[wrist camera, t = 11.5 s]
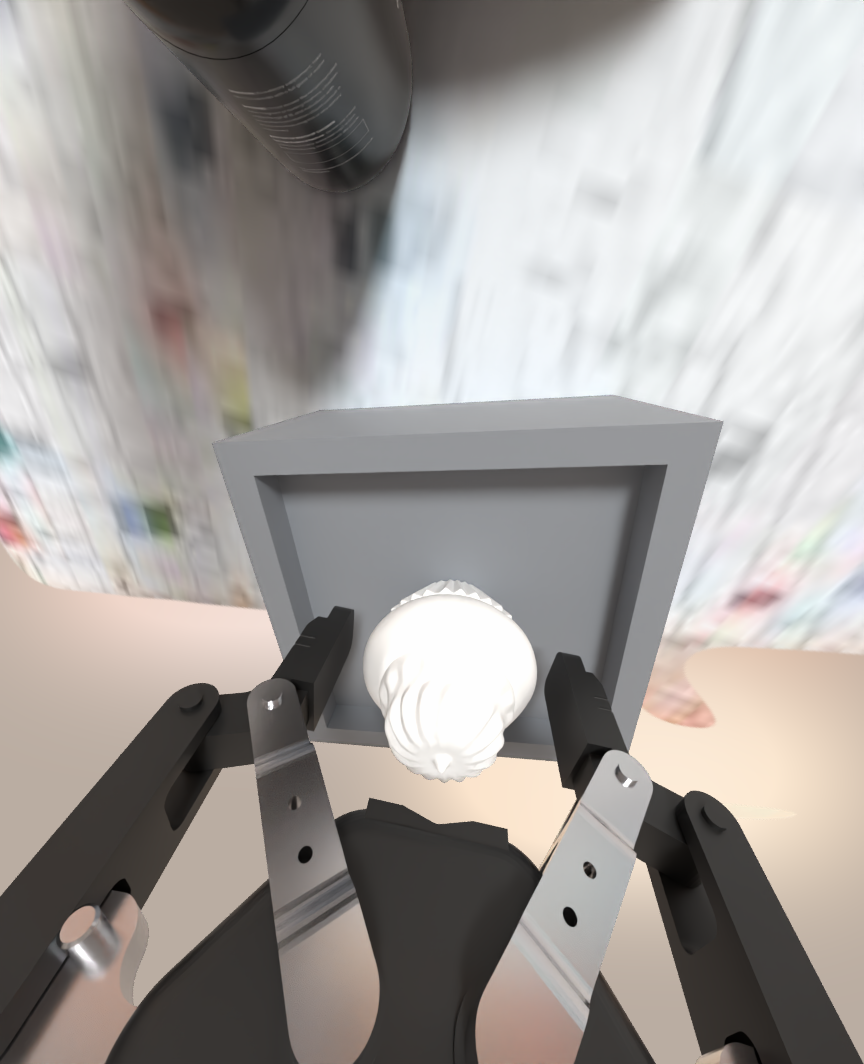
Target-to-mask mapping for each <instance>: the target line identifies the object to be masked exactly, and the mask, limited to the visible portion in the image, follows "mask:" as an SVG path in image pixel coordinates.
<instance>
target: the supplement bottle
mask: <svg viewBox="0 0 864 1064" xmlns="http://www.w3.org/2000/svg"><path fill="white" fill-rule="evenodd" d="M123 1H124V2H125V3H126V5H127V6H128V7H129V8H130V9H131V10H132V11H133V13H134V14H135V15H136V16H137V17H138V18H139V19H140V20H141V21H142V22H143V23H144V24H145V25H146V26H147V27H148V28H149V29H150V31H151V32H152V33H153V34H154V35H155V36H156V37H157V38H158V39H159V40H160V41H161V42H162V43H163V44H164V45H165V46H166V47H167V48H168V49H169V50H170V51H171V52H172V53H173V54H174V55H175V56H176V57H177V58H178V59H179V60H180V61H181V62H182V63H183V64H184V65H185V66H186V67H187V68H188V69H189V70H190V71H191V72H192V73H193V74H194V75H195V77H196V78H197V79H198V80H199V81H200V82H201V83H202V84H203V85H204V86H205V87H206V88H207V89H208V90H209V91H210V92H211V93H212V94H213V95H214V96H215V97H216V98H217V99H218V100H219V101H220V102H221V103H222V104H223V105H224V106H225V107H226V108H227V109H228V110H229V111H230V112H231V113H232V114H233V115H234V116H235V117H236V118H237V119H238V120H239V121H240V122H241V123H242V124H243V126H244V127H245V128H246V129H247V130H248V131H249V132H250V133H251V134H252V135H253V136H254V137H255V138H256V139H257V140H258V141H259V142H260V143H261V144H262V145H263V146H264V147H265V148H266V149H267V150H268V151H269V152H270V153H271V154H272V155H273V156H274V157H275V158H276V159H277V160H278V161H279V162H280V163H281V164H282V165H283V166H284V167H285V168H286V169H287V170H288V171H290V172H291V173H292V174H293V175H294V176H296V177H297V178H298V179H300V180H301V181H302V182H304V183H306V184H307V185H309V186H311V187H314V188H316V189H319V190H322V191H328V192H346V191H351V190H354V189H357V188H359V187H361V186H363V185H365V184H367V183H368V182H369V181H371V180H372V179H373V178H375V177H376V176H377V175H378V174H379V173H380V172H381V171H382V170H383V169H384V167H385V166H386V165H387V163H388V162H389V161H390V159H391V158H392V156H393V154H394V153H395V151H396V149H397V147H398V145H399V142H400V140H401V138H402V135H403V132H404V129H405V126H406V122H407V118H408V114H409V108H410V103H411V94H412V58H411V48H410V42H409V36H408V30H407V25H406V21H405V15H404V10H403V6H402V1H401V0H123Z"/></svg>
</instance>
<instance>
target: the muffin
mask: <svg viewBox="0 0 864 1064" xmlns="http://www.w3.org/2000/svg"><path fill="white" fill-rule="evenodd" d="M363 674H364V680H365V684H366V687H367V690H368V692H369V694H370V696H371V697H372V699H373V701H374V702H375V703H376V704H377V706H378V707H379V708H380V709H381V711H382V714H383V716H384V718H385V733H386V737H387V739H388V742H389V746H390V749H391V751H392V753H393V754H394V756H395V757H396V758H397V760H398V761H399V762H401V763H402V764H404V765H405V766H406V767H407V769H408V770H410V771H411V772H412V773H414V774H421V775H422V776H423V777H425V778H426V779H428V780H432V779H439V780H440V781H441V782H443V783H445V782H447V781H449V780H450V779H453V780H455V781H457V782H462V781H463V780H464V779H465V777H476V776H478V775H480V773H481V772H482V770H483V769H486V768H488V767H490V766H491V765H492V764H493V763H494V761H495V760H496V757H497V753H498V752H499V750H500V749H501V748H502V747H503V745H504V737H503V732H504V729H505V728H507V727H508V726H509V725H510V724H511V723H512V722H513V721H514V720H515V719H516V718H517V717H518V716H519V715H520V713H521V712H522V711H523V710H524V708H525V707H526V706H527V704H528V703H529V701H530V699H531V697H532V695H533V693H534V690H535V686H536V681H537V665H536V659H535V655H534V652H533V649H532V646H531V644H530V642H529V640H528V638H527V636H526V635H525V633H524V632H523V631H522V629H521V628H520V627H519V626H518V625H517V624H516V623H515V622H514V621H513V620H512V616H511V615H510V614H509V613H508V612H506V611H505V610H504V609H503V608H502V606H501V605H500V604H498V603H497V602H496V601H494V600H493V599H492V598H490V597H489V596H488V595H486V594H485V593H484V592H482V591H481V590H479V589H478V588H476V587H475V586H473V585H472V584H469V585H468V584H467V583H466V582H465V581H464V582H460V581H459V580H456V581H453V580H451V579H450V580H448V581H442V580H441V581H439V582H437V583H436V582H434V583H432V584H430V585H428V586H426V587H425V588H423V589H421V590H419V591H417V592H415V593H413V594H412V595H410V596H408V597H406V598H404V599H402V600H401V602H400V604H398V605H396V606H394V607H393V608H392V609H391V612H390V613H389V614H388V615H387V616H385V617H384V618H383V619H382V620H381V622H380V623H379V624H378V625H377V626H376V628H375V629H374V630H373V632H372V633H371V635H370V637H369V639H368V641H367V644H366V647H365V650H364V656H363Z"/></svg>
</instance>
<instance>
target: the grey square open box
mask: <svg viewBox="0 0 864 1064" xmlns="http://www.w3.org/2000/svg"><path fill="white" fill-rule="evenodd" d="M722 425H723V421H719V420H715V419H711V418H707V417H703V416H699V415H694V414H690V413H686V412H682V411H678V410H674V409H669V408H665V407H661V406H657V405H653V404H649V403H645V402H640V401H636V400H632V399H628V398H624V397H620V396H616V395H602V396H583V397H565V398H546V399H527V400H508V401H489V402H470V403H451V404H432V405H413V406H394V407H376V408H357V409H338V410H319V411H316V412H313V413H309V414H306V415H303V416H299V417H296V418H293V419H289V420H286V421H283V422H279V423H276V424H273V425H269V426H266V427H263V428H260V429H256V430H253V431H250V432H246V433H243V434H240V435H236V436H233V437H230V438H226V439H223V440H220V441H216V442H213V443H212V445H213V448H214V451H215V454H216V457H217V460H218V463H219V466H220V469H221V472H222V475H223V478H224V481H225V484H226V487H227V490H228V493H229V496H230V499H231V502H232V505H233V508H234V512H235V515H236V518H237V521H238V524H239V527H240V530H241V533H242V536H243V539H244V542H245V545H246V548H247V551H248V554H249V557H250V560H251V563H252V566H253V569H254V572H255V575H256V578H257V581H258V584H259V588H260V591H261V594H262V597H263V600H264V603H265V606H266V609H267V612H268V615H269V618H270V621H271V624H272V627H273V630H274V633H275V636H276V639H277V642H278V645H279V648H280V651H281V654H282V657H283V660H284V659H285V657H286V656H287V654H288V653H289V651H290V650H291V648H292V647H293V645H295V642H296V641H297V639H298V638H299V636H300V635H301V633H302V631H303V630H304V628H305V627H306V625H307V624H308V623H310V622H311V621H312V620H314V619H315V618H317V617H318V616H321V617H325V618H327V617H328V616H329V614H330V612H331V611H332V609H333V608H334V606H340V607H345V608H350V609H354V627H353V640H352V645H351V649H350V652H349V655H348V657H347V659H346V661H345V664H344V666H343V668H342V670H341V673H340V675H339V677H338V679H337V681H336V684H335V686H334V688H333V690H332V693H331V695H330V697H329V699H328V701H327V704H326V706H325V708H324V710H323V713H322V715H321V717H320V719H319V721H318V724H317V726H316V728H315V730H314V731H309V730H307V733H308V737H309V740H310V741H315V742H327V743H339V744H352V745H363V746H376V747H388V748H390V746H389V742H388V739H387V737H386V733H385V718H384V716H383V714H382V711H381V709H380V708H379V707H378V706H377V704H376V703H375V702H374V701H373V699H372V697H371V696H370V694H369V692H368V690H367V687H366V684H365V680H364V674H363V656H364V650H365V647H366V644H367V641H368V639H369V637H370V635H371V633H372V632H373V630H374V629H375V628H376V626H377V625H378V624H379V623H380V622H381V620H382V619H383V618H384V617H385V616H387V615H388V614H389V613H390V612H391V609H392V608H393V607H394V606H396V605H398V604H400V602H401V600H402V599H404V598H406V597H408V596H410V595H412V594H413V593H415V592H417V591H419V590H421V589H423V588H425V587H426V586H428V585H430V584H432V583H434V582H436V583H437V582H439V581H441V580H442V581H448V580H450V579H451V580H453V581H456V580H459V581H460V582H464V581H465V582H466V583H467V584H468V585H469V584H472V585H473V586H475V587H476V588H478V589H479V590H481V591H482V592H484V593H485V594H486V595H488V596H489V597H490V598H492V599H493V600H494V601H496V602H497V603H498V604H500V605H501V606H502V608H503V609H504V610H505V611H506V612H508V613H509V614H510V615H511V616H512V620H513V621H514V622H515V623H516V624H517V625H518V626H519V627H520V628H521V629H522V631H523V632H524V633H525V635H526V636H527V638H528V640H529V642H530V644H531V646H532V649H533V652H534V655H535V659H536V665H537V681H536V686H535V690H534V693H533V695H532V697H531V699H530V701H529V703H528V704H527V706H526V707H525V708H524V710H523V711H522V712H521V713H520V715H519V716H518V717H517V718H516V719H515V720H514V721H513V722H512V723H511V724H510V725H509V726H508V727H507V728H505V729H504V732H503V737H504V745H503V747H502V748H501V749H500V750H499V752H498V753H497V757H510V758H522V759H534V760H546V761H557V757H556V752H555V747H554V742H553V737H552V732H551V726H550V721H549V716H548V711H547V706H546V701H545V696H544V686H545V681H546V678H547V675H548V673H549V671H550V668H551V666H552V664H553V661H554V659H555V656H556V654H557V653H558V652H563V653H568V654H573V655H578V656H580V657H581V659H582V662H583V665H584V668H585V671H586V672H590V673H593V674H594V675H595V677H596V678H597V679H598V680H599V682H600V683H601V684H602V685H603V688H604V690H605V693H606V696H607V698H608V699H607V701H609V703H610V706H611V709H612V712H613V714H614V717H615V719H616V722H617V724H618V727H619V730H620V732H621V735H622V737H623V740H624V743H625V745H626V748H627V750H628V753H629V749H630V746H631V742H632V739H633V735H634V731H635V728H636V725H637V721H638V718H639V714H640V711H641V707H642V704H643V700H644V697H645V693H646V690H647V686H648V683H649V679H650V676H651V672H652V669H653V665H654V662H655V658H656V655H657V651H658V648H659V645H660V641H661V638H662V634H663V631H664V627H665V624H666V620H667V617H668V613H669V610H670V606H671V603H672V599H673V596H674V592H675V589H676V585H677V582H678V578H679V575H680V571H681V568H682V564H683V561H684V557H685V554H686V550H687V547H688V544H689V540H690V537H691V533H692V530H693V526H694V523H695V519H696V516H697V512H698V509H699V505H700V502H701V498H702V495H703V491H704V488H705V484H706V481H707V477H708V474H709V470H710V467H711V463H712V460H713V456H714V453H715V449H716V446H717V442H718V439H719V436H720V432H721V429H722Z"/></svg>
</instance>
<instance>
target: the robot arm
mask: <svg viewBox="0 0 864 1064" xmlns="http://www.w3.org/2000/svg"><path fill="white" fill-rule="evenodd" d="M353 627H354V609H350V608H345V607H340V606H334V608H333V609H332V611H331V612H330V614H329V616H328V617H327V618H325V617H321V616H318V617H317V618H315V619H314V620H312V621H311V622H310V623H308V624H307V625H306V627H305V628H304V630H303V631H302V633H301V635H300V636H299V638H298V639H297V641H296V642H295V645H293V647H292V648H291V650H290V651H289V653H288V654H287V656H286V657H285V659H284V660H283V662H282V663H281V665H280V666H279V668H278V669H277V671H276V672H275V674H274V675H273V677H272V678H271V679H270V680H267V681H264V682H262V683H261V684H259V685H258V686H256V687H255V688H254V689H253V690H252V691H249V692H245V693H235V694H224V695H219V693H218V690H217V689H216V688H215V687H214V686H213V685H210V684H206V683H198V684H193V685H189V686H187V687H184V688H182V689H180V690H179V691H177V692H175V693H174V694H173V695H172V696H171V697H170V698H169V699H168V700H167V701H166V702H165V703H164V705H163V706H162V707H161V708H160V709H159V711H158V712H157V713H156V714H155V715H154V716H153V717H152V719H151V720H150V721H149V722H148V723H147V725H146V726H145V727H144V728H143V729H142V730H141V732H140V733H139V734H138V735H137V736H136V737H135V739H134V740H133V741H132V743H130V745H129V746H128V747H127V748H126V749H125V751H124V752H123V753H122V754H121V755H120V756H119V758H118V759H117V760H116V761H115V762H114V764H113V765H112V766H111V767H110V768H109V769H108V771H107V772H106V773H105V774H104V775H103V776H102V778H101V779H100V780H99V781H98V782H97V783H96V785H95V786H94V787H93V788H92V789H91V791H90V792H89V793H88V794H87V795H86V796H85V798H84V799H83V800H82V801H81V802H80V803H79V805H78V806H77V807H76V808H75V809H74V810H73V812H72V813H71V814H70V815H69V816H68V818H67V819H66V820H65V821H64V822H63V824H62V825H61V826H60V827H59V828H58V829H57V830H56V832H55V833H54V834H53V835H52V836H51V838H50V839H49V840H48V841H47V842H46V843H45V845H44V846H43V847H42V848H41V849H40V850H39V852H38V853H37V854H36V855H35V856H34V858H33V859H32V860H31V861H30V862H29V863H28V865H27V866H26V867H25V868H24V869H23V870H22V872H21V873H20V874H19V875H18V876H17V878H16V879H15V880H14V881H13V882H12V883H11V885H10V886H9V887H8V888H7V889H6V890H5V892H4V893H3V894H2V895H1V896H0V1064H656V1063H655V1062H654V1060H653V1058H652V1057H651V1055H650V1053H649V1052H648V1050H647V1048H646V1047H645V1045H644V1044H643V1042H642V1040H641V1038H640V1037H639V1035H638V1033H637V1032H636V1030H635V1028H634V1026H633V1025H632V1023H631V1022H630V1020H629V1018H628V1017H627V1015H626V1013H625V1011H624V1010H623V1008H622V1006H621V1005H620V1003H619V1002H618V1000H617V998H616V997H615V995H614V994H613V992H612V990H611V988H610V986H609V985H608V983H607V981H606V980H605V978H604V976H603V975H602V973H601V971H600V967H601V964H602V961H603V958H604V955H605V952H606V949H607V946H608V943H609V939H610V937H611V933H612V931H613V927H614V925H615V922H616V919H617V915H618V912H619V909H620V906H621V903H622V900H623V897H624V894H625V891H626V888H627V885H628V882H629V879H630V876H631V873H632V870H633V867H634V863H635V860H636V858H638V859H640V860H641V861H643V862H645V863H646V865H647V868H648V871H649V875H650V878H651V882H652V885H653V888H654V892H655V896H656V899H657V902H658V906H659V909H660V913H661V916H662V920H663V923H664V927H665V930H666V934H667V937H668V940H669V944H670V947H671V951H672V954H673V958H674V961H675V964H676V968H677V971H678V975H679V978H680V982H681V985H682V989H683V992H684V995H685V999H686V1002H687V1006H688V1009H689V1012H690V1016H691V1020H692V1023H693V1026H694V1030H695V1033H696V1037H697V1040H698V1044H699V1047H700V1051H701V1054H702V1056H700V1057H699V1058H698V1059H697V1061H696V1063H695V1064H863V1062H862V1060H861V1058H860V1056H859V1055H858V1052H857V1051H856V1049H855V1047H854V1045H853V1043H852V1041H851V1039H850V1037H849V1035H848V1034H847V1031H846V1030H845V1027H844V1025H843V1024H842V1022H841V1020H840V1018H839V1016H838V1014H837V1012H836V1010H835V1008H834V1006H833V1004H832V1002H831V1001H830V999H829V997H828V995H827V993H826V991H825V989H824V987H823V985H822V983H821V981H820V979H819V977H818V975H817V973H816V972H815V970H814V968H813V966H812V964H811V962H810V960H809V958H808V956H807V954H806V952H805V950H804V948H803V947H802V945H801V943H800V941H799V939H798V937H797V935H796V933H795V931H794V929H793V927H792V925H791V923H790V921H789V919H788V918H787V916H786V914H785V912H784V910H783V908H782V906H781V904H780V902H779V900H778V898H777V896H776V894H775V893H774V891H773V889H772V887H771V885H770V883H769V881H768V879H767V877H766V875H765V873H764V871H763V870H762V867H761V866H760V864H759V862H758V860H757V858H756V856H755V854H754V852H753V850H752V848H751V846H750V844H749V843H748V841H747V839H746V837H745V835H744V833H743V831H742V829H741V827H740V825H739V824H738V822H737V820H736V819H735V818H734V816H733V815H732V814H731V813H730V811H729V810H728V809H727V808H726V807H725V806H724V805H722V804H721V803H720V802H719V801H718V800H716V799H715V798H713V797H712V796H710V795H708V794H706V793H703V792H700V791H690V792H689V793H687V794H686V795H685V797H682V796H680V795H678V794H676V793H674V792H672V791H670V790H668V789H666V788H664V787H662V786H661V785H658V784H657V783H655V782H653V781H652V780H651V779H650V776H649V774H648V773H647V771H646V770H645V768H644V767H643V766H642V765H641V764H640V763H639V762H638V761H637V760H636V759H635V758H633V757H632V756H630V755H629V753H628V750H627V748H626V745H625V743H624V740H623V737H622V735H621V732H620V730H619V727H618V724H617V722H616V719H615V717H614V714H613V712H612V709H611V706H610V703H609V701H607V699H608V698H607V696H606V693H605V690H604V688H603V685H602V684H601V683H600V682H599V680H598V679H597V678H596V677H595V675H594V674H593V673H590V672H586V671H585V668H584V665H583V662H582V659H581V657H580V656H578V655H573V654H568V653H563V652H558V653H557V654H556V656H555V659H554V661H553V664H552V666H551V668H550V671H549V673H548V675H547V678H546V681H545V686H544V696H545V701H546V706H547V711H548V716H549V721H550V726H551V732H552V737H553V742H554V747H555V752H556V757H557V762H558V767H559V772H560V777H561V782H562V787H563V788H568V789H573V790H575V794H576V798H577V800H576V802H575V803H574V805H573V807H572V809H571V810H570V812H569V814H568V816H567V818H566V820H565V822H564V824H563V825H562V827H561V829H560V831H559V833H558V835H557V836H556V838H555V840H554V842H553V844H552V846H551V848H550V850H549V851H548V853H547V855H546V857H545V858H544V860H543V862H542V864H541V866H540V867H539V869H538V868H537V867H536V866H535V865H534V864H533V862H532V861H531V860H530V859H529V858H528V857H527V856H526V855H525V854H524V853H522V852H521V851H520V850H519V849H518V848H516V847H515V846H514V845H512V844H510V843H509V842H508V832H507V829H504V828H501V827H496V826H492V825H487V824H483V823H479V822H474V821H471V822H459V823H449V824H435V823H433V822H431V821H430V820H428V819H426V818H424V817H422V816H421V815H419V814H417V813H415V812H414V811H412V810H410V809H408V808H406V807H405V806H403V805H399V804H394V803H390V802H386V801H381V800H377V799H372V798H369V801H368V806H367V809H363V810H357V811H353V812H349V813H347V814H344V815H342V816H340V817H338V818H337V819H335V820H334V817H333V813H332V810H331V806H330V802H329V799H328V795H327V791H326V787H325V785H324V780H323V777H322V773H321V769H320V765H319V762H318V758H317V754H316V751H315V748H314V745H313V743H310V741H309V737H308V733H307V730H309V731H314V730H315V728H316V726H317V724H318V721H319V719H320V717H321V715H322V713H323V710H324V708H325V706H326V704H327V701H328V699H329V697H330V695H331V693H332V690H333V688H334V686H335V684H336V681H337V679H338V677H339V675H340V673H341V670H342V668H343V666H344V664H345V661H346V659H347V657H348V655H349V652H350V649H351V645H352V640H353ZM248 764H255V772H256V779H257V788H258V796H259V803H260V811H261V819H262V827H263V835H264V842H265V851H266V858H267V865H268V874H269V879H268V880H267V881H266V882H264V883H263V884H262V885H261V886H260V887H259V888H258V889H257V890H256V891H255V892H254V893H253V894H252V895H251V896H249V897H248V899H246V900H245V901H244V902H243V903H242V904H241V905H240V906H239V907H238V908H237V909H236V910H234V911H233V912H232V913H231V914H230V915H229V916H228V917H227V918H226V919H225V920H224V921H223V922H222V923H221V924H219V925H218V926H217V927H216V928H215V929H214V930H213V931H212V932H211V933H210V934H209V935H208V936H207V937H205V938H204V939H203V940H202V941H201V942H200V943H199V944H198V945H197V946H196V947H195V948H194V949H193V950H192V951H190V952H189V953H188V954H187V955H186V956H185V957H184V958H183V959H182V960H181V961H180V962H179V963H178V964H176V965H175V966H174V968H172V969H171V970H170V971H169V972H168V973H167V974H166V975H165V976H164V977H163V978H162V979H161V980H160V981H159V982H158V983H157V984H156V985H155V986H154V988H153V989H152V990H151V991H150V992H149V993H148V994H147V996H146V997H145V998H144V1000H143V1001H142V1002H141V1003H140V1005H139V1006H138V1007H137V1006H134V1004H133V986H134V980H135V977H136V973H137V970H138V968H139V965H140V963H141V960H142V958H143V956H144V953H145V950H146V947H147V943H148V937H149V928H148V923H147V921H146V919H145V917H144V915H143V914H142V912H141V909H142V907H143V906H144V904H145V902H146V901H147V899H148V897H149V895H150V894H151V892H152V890H153V888H154V887H155V885H156V883H157V881H158V879H159V878H160V876H161V874H162V873H163V871H164V869H165V867H166V866H167V864H168V862H169V860H170V859H171V857H172V855H173V853H174V852H175V850H176V848H177V846H178V845H179V843H180V841H181V839H182V838H183V836H184V834H185V832H186V831H187V829H188V827H189V826H190V824H191V822H192V820H193V819H194V817H195V815H196V813H197V811H198V810H199V808H200V806H201V804H202V803H203V801H204V799H205V798H206V796H207V794H208V792H209V790H210V789H211V787H212V785H213V783H214V782H215V780H216V778H217V777H218V775H219V773H220V771H221V769H222V768H227V767H234V766H242V765H248Z"/></svg>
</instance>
